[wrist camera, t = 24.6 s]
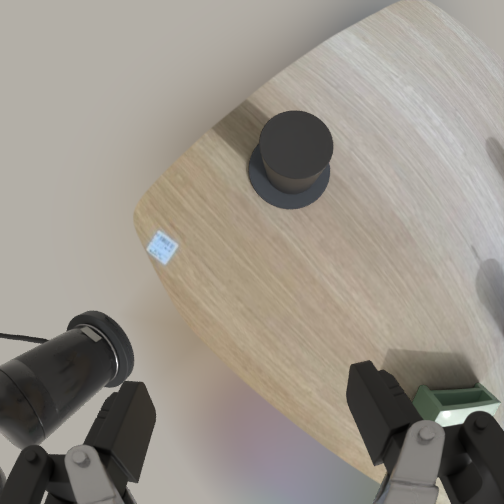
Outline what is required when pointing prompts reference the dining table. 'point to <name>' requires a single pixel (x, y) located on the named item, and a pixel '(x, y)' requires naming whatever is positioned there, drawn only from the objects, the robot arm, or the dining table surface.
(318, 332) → the dining table surface
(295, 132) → the dark grey cylinder
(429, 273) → the dining table surface
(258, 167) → the coaster
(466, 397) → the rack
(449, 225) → the dining table surface
